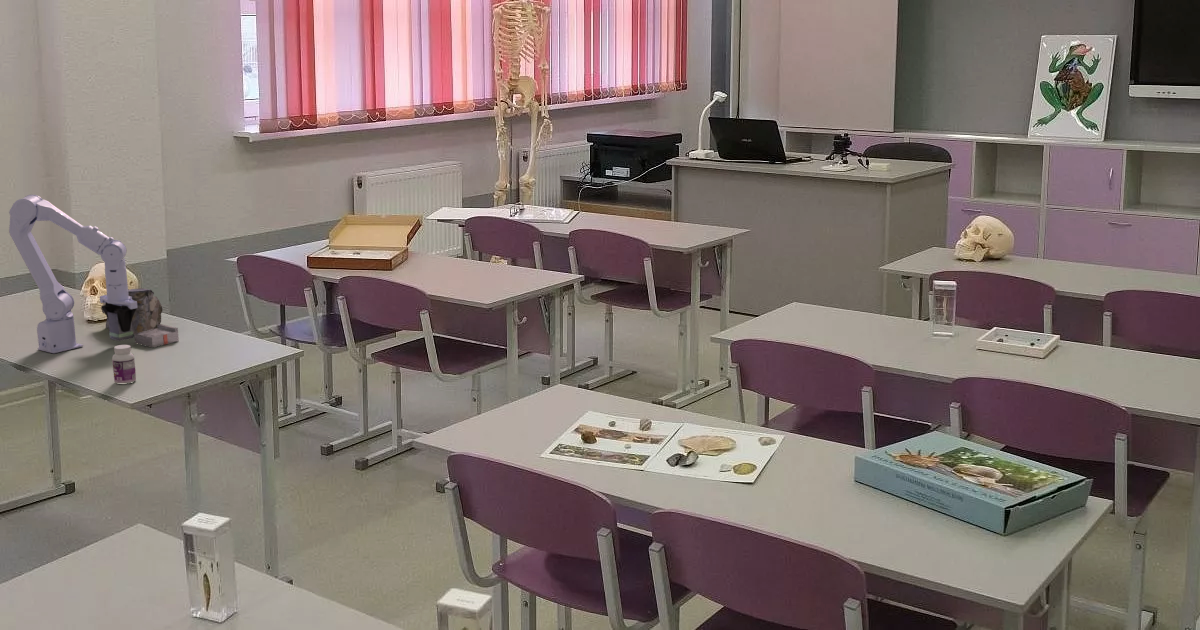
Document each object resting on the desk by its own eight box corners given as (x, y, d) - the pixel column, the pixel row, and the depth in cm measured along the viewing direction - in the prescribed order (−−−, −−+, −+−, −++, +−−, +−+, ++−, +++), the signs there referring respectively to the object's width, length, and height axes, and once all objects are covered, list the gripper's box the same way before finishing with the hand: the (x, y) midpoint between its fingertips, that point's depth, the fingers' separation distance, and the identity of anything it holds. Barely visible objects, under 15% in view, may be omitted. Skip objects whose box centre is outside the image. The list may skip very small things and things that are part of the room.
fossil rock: (103, 340, 369) (96, 291, 368) (131, 335, 377) (123, 288, 376) (142, 336, 357) (134, 286, 356) (169, 332, 365) (162, 283, 364)
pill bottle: (110, 382, 314) (106, 346, 312) (129, 378, 318) (125, 342, 316) (121, 386, 311) (118, 350, 308) (140, 381, 315) (137, 346, 312)
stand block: (153, 347, 347) (151, 334, 346) (135, 343, 352) (133, 330, 351) (179, 341, 354) (178, 327, 354) (161, 337, 359) (160, 324, 358)
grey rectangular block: (119, 341, 346) (117, 314, 344) (109, 338, 348) (107, 311, 346) (133, 337, 349) (131, 311, 347) (123, 335, 352) (121, 308, 350)
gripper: (144, 284, 344) (148, 330, 347) (113, 278, 352) (117, 323, 355) (123, 288, 339) (127, 335, 342) (91, 282, 346) (95, 328, 349)
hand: (120, 329), depth 348 cm, fingers closed on grey rectangular block, 4 cm apart
